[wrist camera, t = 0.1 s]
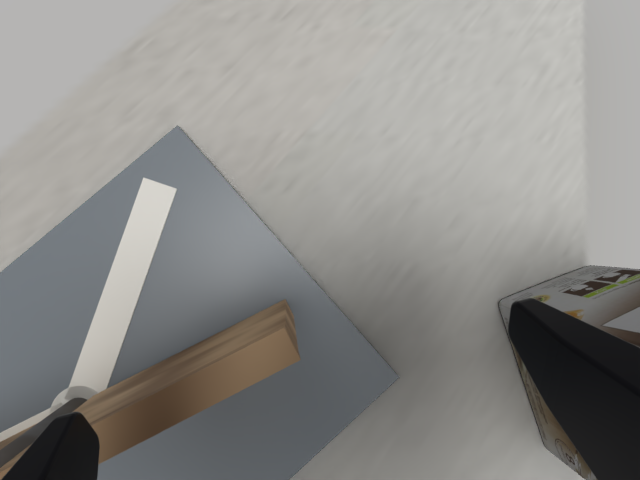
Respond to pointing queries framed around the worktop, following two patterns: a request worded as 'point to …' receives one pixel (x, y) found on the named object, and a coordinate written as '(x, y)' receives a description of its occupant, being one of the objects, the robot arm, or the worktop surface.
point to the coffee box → (593, 308)
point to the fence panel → (189, 381)
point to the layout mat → (177, 322)
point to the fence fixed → (33, 432)
